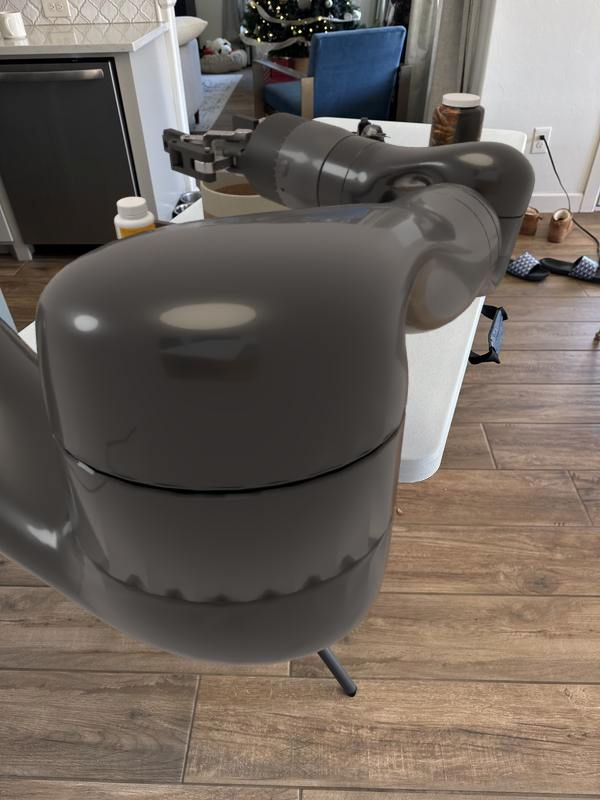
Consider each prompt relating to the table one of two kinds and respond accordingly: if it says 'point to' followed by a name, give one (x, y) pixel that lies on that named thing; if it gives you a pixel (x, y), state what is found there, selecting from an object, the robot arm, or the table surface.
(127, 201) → the supplement bottle
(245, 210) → the planter
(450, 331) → the table surface
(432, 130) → the jar
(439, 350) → the table surface
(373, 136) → the shoe
